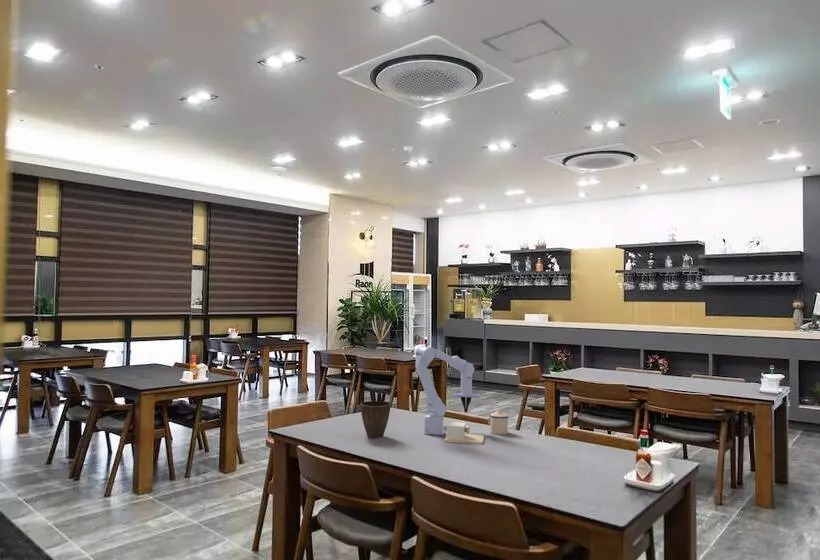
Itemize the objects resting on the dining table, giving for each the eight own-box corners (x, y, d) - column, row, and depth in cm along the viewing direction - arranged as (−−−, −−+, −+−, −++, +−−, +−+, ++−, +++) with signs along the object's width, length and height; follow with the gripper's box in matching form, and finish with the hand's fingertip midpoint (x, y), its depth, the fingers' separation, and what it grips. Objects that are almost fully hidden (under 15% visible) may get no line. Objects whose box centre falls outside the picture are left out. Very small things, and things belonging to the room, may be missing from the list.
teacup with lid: (511, 433, 289) (512, 410, 290) (499, 435, 284) (499, 412, 284) (494, 429, 299) (494, 406, 299) (482, 431, 293) (482, 408, 294)
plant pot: (354, 438, 273) (354, 404, 273) (367, 431, 286) (368, 399, 287) (382, 441, 267) (383, 407, 268) (395, 435, 281) (395, 402, 281)
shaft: (443, 433, 274) (443, 425, 274) (444, 431, 278) (444, 423, 278) (468, 434, 272) (468, 426, 272) (469, 432, 276) (469, 424, 276)
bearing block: (444, 441, 269) (444, 426, 269) (447, 435, 283) (447, 420, 283) (482, 444, 266) (482, 428, 266) (483, 437, 280) (484, 422, 280)
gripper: (452, 386, 292) (451, 412, 291) (480, 387, 290) (480, 413, 290) (452, 384, 299) (451, 410, 298) (480, 385, 298) (479, 411, 297)
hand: (465, 412), depth 295 cm, fingers closed
